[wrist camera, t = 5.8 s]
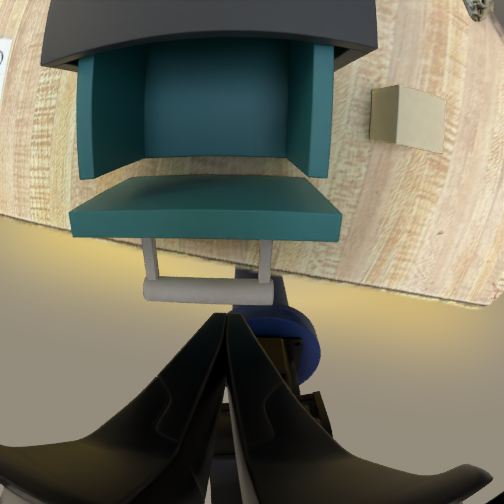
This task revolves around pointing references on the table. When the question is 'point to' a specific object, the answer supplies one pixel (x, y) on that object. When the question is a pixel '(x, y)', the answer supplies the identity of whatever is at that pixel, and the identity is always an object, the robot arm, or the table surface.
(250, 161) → the table surface
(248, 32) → the drawer cabinet
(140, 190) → the teal drawer
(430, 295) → the table surface
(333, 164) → the table surface
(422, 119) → the block
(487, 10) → the small metal piece
